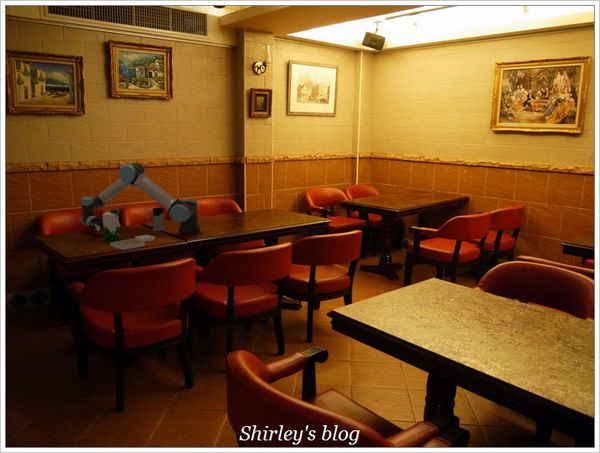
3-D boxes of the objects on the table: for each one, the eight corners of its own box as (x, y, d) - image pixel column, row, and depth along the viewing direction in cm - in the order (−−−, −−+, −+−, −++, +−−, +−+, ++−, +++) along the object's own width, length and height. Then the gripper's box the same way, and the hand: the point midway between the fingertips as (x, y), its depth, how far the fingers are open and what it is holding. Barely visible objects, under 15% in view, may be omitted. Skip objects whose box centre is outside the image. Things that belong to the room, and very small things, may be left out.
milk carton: (117, 242, 323) (115, 211, 319) (102, 242, 323) (100, 211, 319) (121, 239, 332) (119, 208, 328) (106, 239, 331) (104, 208, 327)
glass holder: (161, 230, 358) (161, 209, 355) (143, 229, 361) (142, 208, 358) (167, 228, 367) (166, 207, 364) (149, 227, 369) (148, 206, 366)
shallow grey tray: (132, 241, 325) (132, 238, 324) (144, 245, 315) (144, 242, 315) (110, 245, 315) (110, 242, 314) (122, 249, 305) (122, 246, 304)
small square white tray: (147, 237, 337) (147, 234, 336) (154, 240, 331) (154, 236, 330) (135, 239, 330) (134, 236, 330) (142, 242, 324) (141, 239, 324)
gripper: (113, 225, 350) (128, 230, 336) (76, 230, 333) (90, 235, 318) (112, 214, 349) (127, 218, 334) (75, 219, 331) (90, 223, 317)
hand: (109, 227), depth 326 cm, fingers open, 13 cm apart
